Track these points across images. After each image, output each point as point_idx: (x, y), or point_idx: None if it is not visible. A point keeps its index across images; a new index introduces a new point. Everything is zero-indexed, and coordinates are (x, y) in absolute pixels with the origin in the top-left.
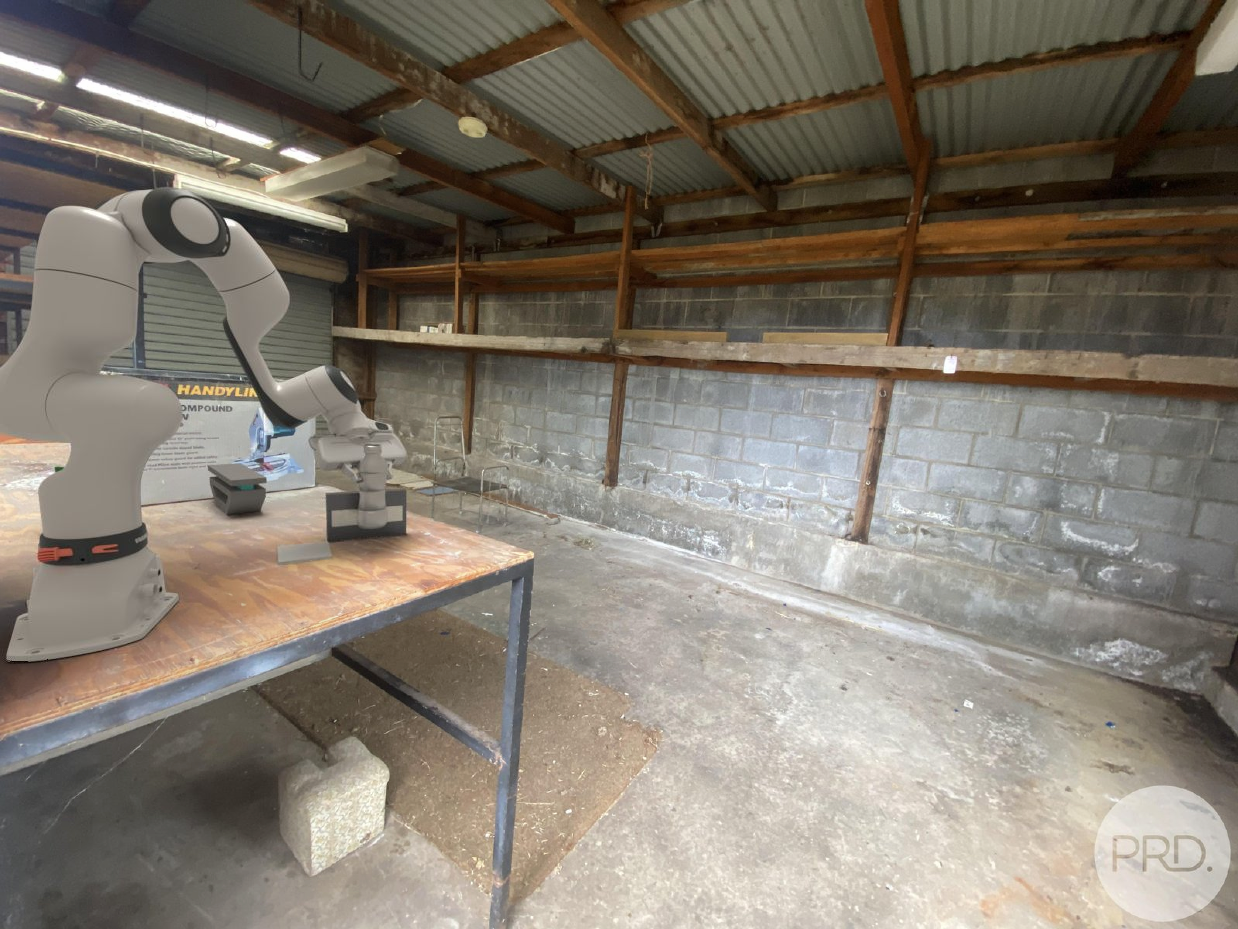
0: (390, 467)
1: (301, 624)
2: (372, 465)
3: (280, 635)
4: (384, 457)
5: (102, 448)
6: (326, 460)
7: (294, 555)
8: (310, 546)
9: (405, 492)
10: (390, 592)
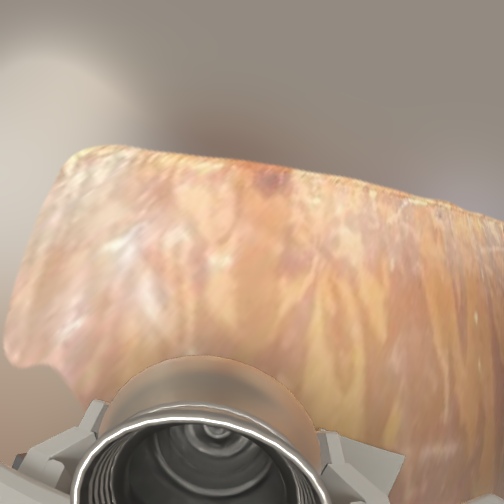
0: (66, 437)
1: (441, 214)
2: (274, 383)
3: (457, 211)
4: (53, 494)
5: None
6: (500, 500)
7: (369, 478)
8: None
9: (25, 455)
10: (331, 200)
